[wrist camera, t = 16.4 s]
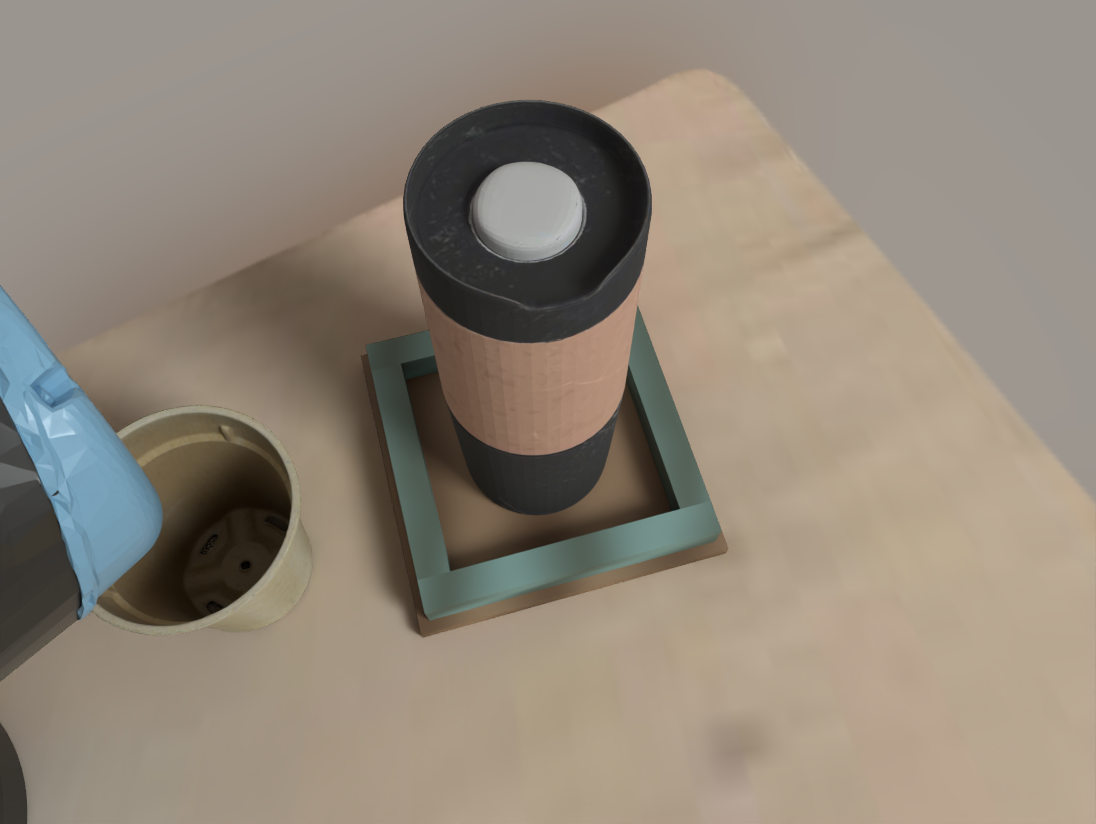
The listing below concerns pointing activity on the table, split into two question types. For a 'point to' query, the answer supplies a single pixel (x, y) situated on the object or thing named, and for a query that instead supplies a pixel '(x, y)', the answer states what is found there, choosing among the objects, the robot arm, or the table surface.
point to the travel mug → (530, 290)
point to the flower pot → (212, 526)
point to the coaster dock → (532, 540)
